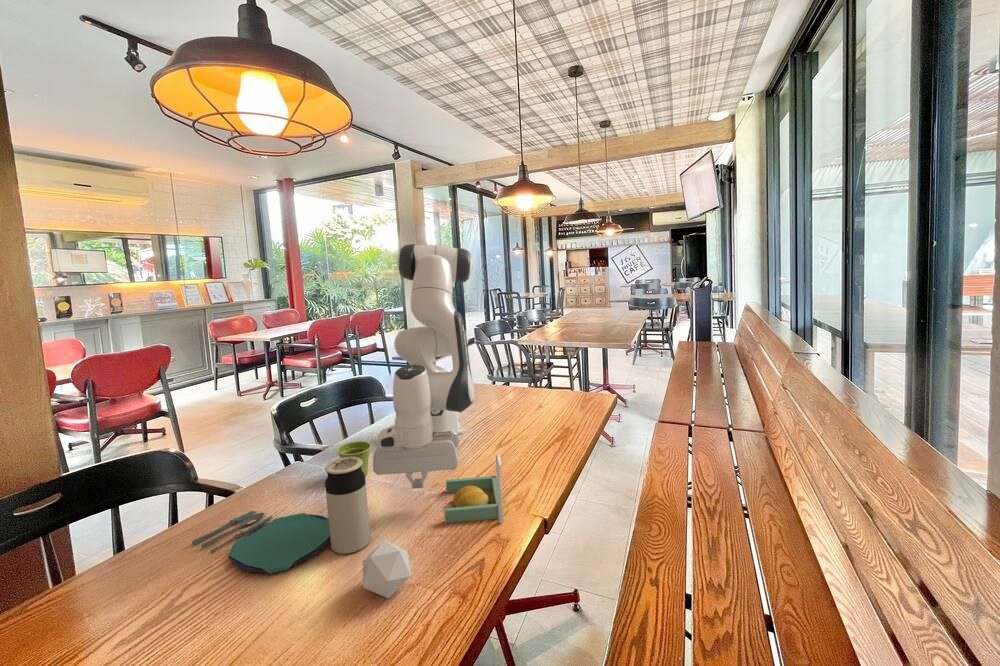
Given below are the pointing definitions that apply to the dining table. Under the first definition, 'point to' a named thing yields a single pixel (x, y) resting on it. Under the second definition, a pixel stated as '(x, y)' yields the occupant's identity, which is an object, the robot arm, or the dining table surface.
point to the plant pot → (356, 452)
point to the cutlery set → (273, 541)
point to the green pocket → (480, 510)
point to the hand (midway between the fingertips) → (418, 487)
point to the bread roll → (470, 497)
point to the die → (386, 569)
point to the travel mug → (347, 505)
